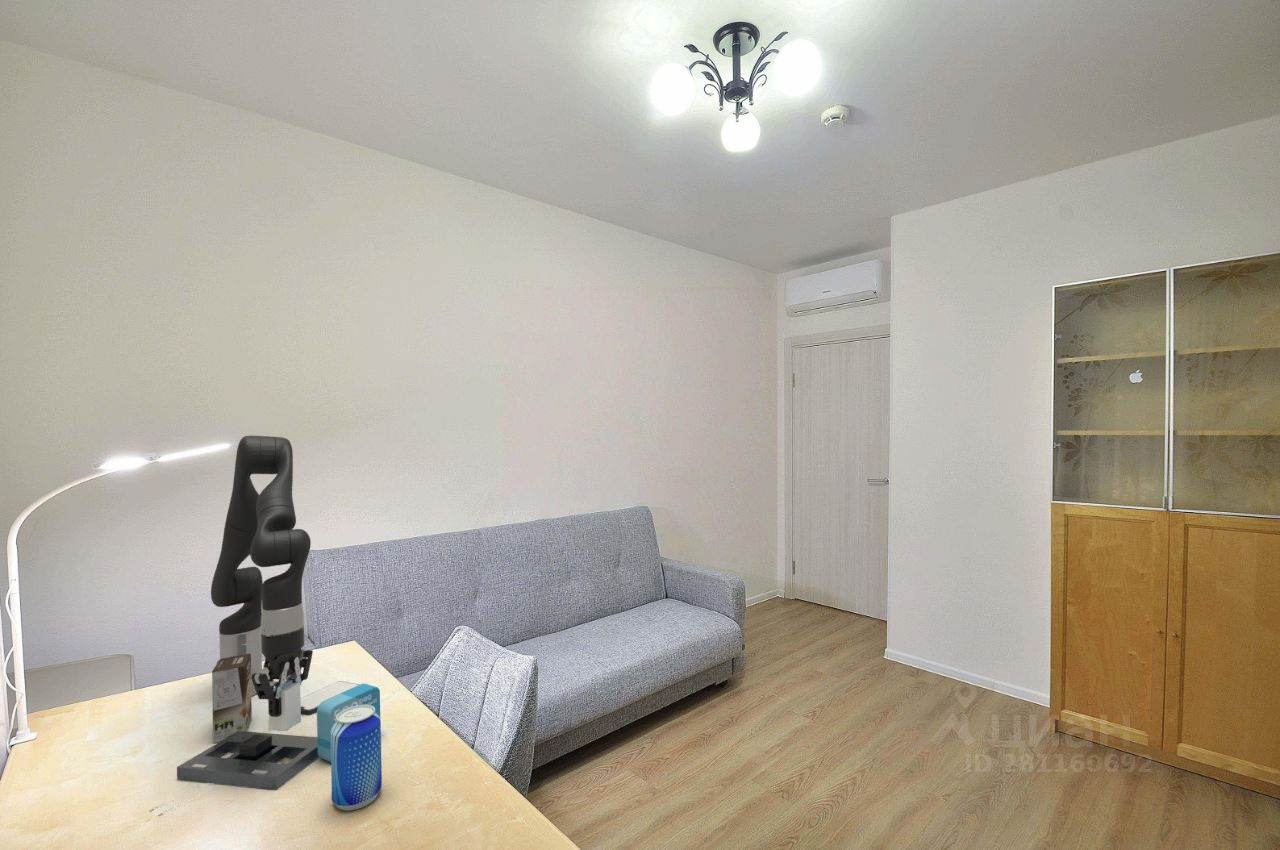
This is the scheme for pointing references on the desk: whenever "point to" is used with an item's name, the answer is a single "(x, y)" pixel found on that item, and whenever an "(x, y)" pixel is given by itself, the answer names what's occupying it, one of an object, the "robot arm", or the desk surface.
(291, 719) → the plug
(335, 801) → the beer can
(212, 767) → the panel
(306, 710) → the phone case
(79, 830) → the desk surface
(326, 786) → the desk surface
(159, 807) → the electronic cable
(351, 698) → the teal rounded box
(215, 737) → the coffee box
